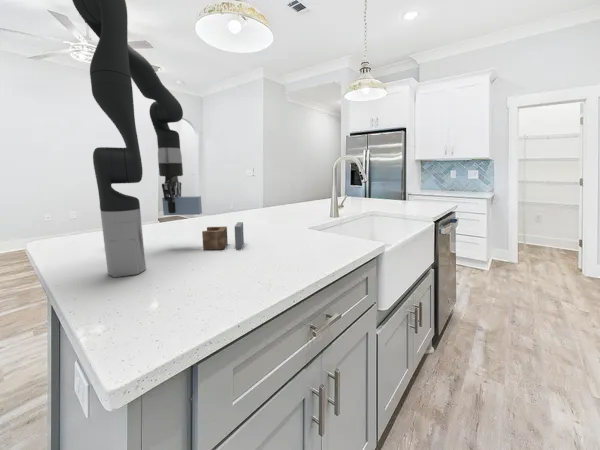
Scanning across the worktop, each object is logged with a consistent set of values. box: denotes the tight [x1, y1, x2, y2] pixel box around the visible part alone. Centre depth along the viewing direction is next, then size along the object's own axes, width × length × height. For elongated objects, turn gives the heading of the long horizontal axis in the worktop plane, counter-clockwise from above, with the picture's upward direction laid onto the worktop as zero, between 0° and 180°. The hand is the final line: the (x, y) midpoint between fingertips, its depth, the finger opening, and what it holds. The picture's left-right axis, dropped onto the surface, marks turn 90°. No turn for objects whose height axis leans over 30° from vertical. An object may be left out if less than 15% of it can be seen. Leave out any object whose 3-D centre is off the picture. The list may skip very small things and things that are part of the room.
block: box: [201, 226, 229, 250], centre depth 113 cm, size 7×9×6 cm
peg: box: [161, 195, 203, 216], centre depth 110 cm, size 12×4×6 cm, turn 95°
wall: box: [234, 221, 245, 250], centre depth 113 cm, size 2×9×8 cm, turn 4°
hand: (174, 211), depth 110 cm, fingers closed on peg, 4 cm apart
